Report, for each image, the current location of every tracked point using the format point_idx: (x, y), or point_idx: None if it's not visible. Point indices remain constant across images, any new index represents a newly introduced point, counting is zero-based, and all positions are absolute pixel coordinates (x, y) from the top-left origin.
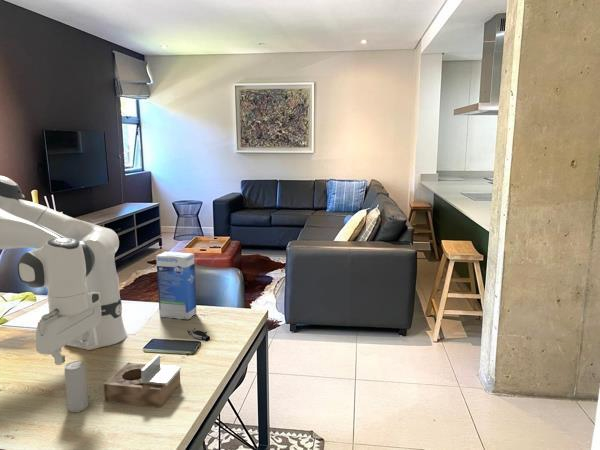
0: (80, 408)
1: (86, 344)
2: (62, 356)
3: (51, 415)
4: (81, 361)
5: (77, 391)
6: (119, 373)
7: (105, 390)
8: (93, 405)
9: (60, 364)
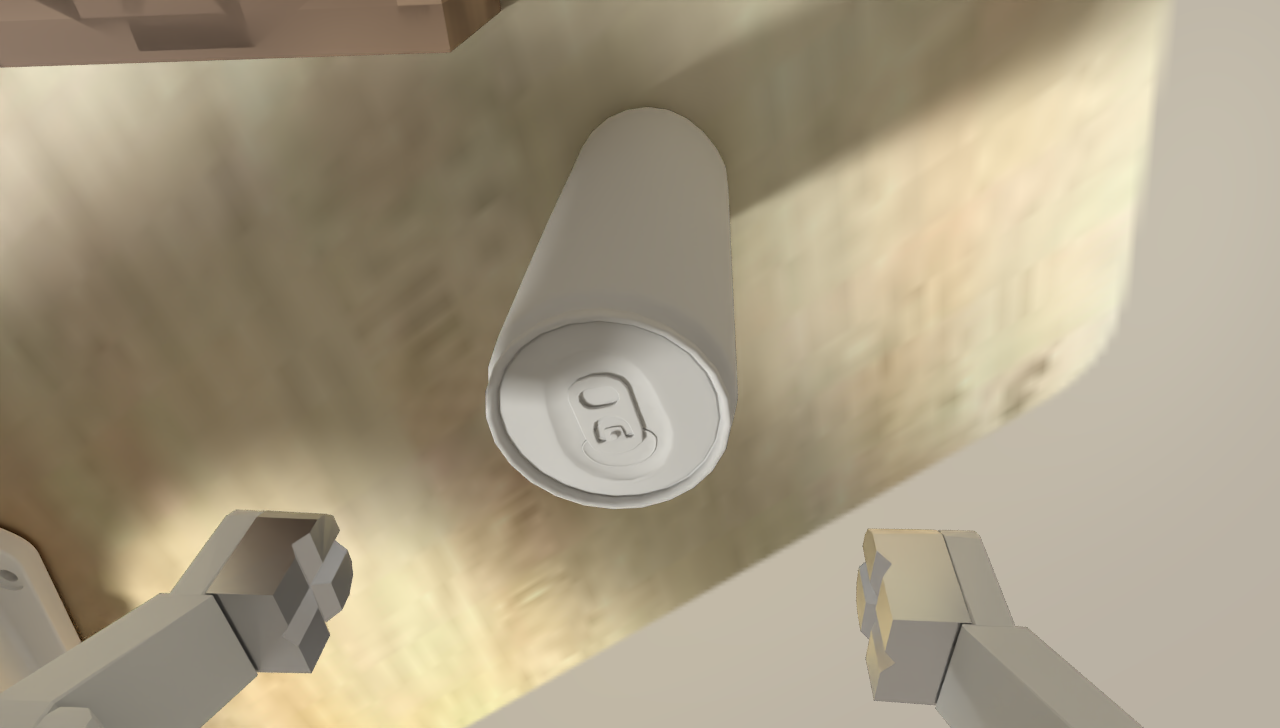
0: (697, 132)
1: (285, 547)
2: (932, 636)
3: (776, 303)
4: (494, 401)
5: (707, 207)
6: (192, 12)
7: (469, 18)
8: (588, 75)
9: (970, 538)
